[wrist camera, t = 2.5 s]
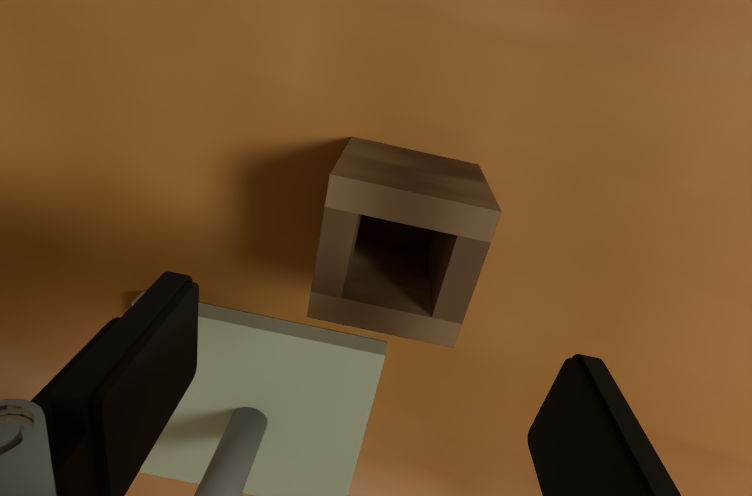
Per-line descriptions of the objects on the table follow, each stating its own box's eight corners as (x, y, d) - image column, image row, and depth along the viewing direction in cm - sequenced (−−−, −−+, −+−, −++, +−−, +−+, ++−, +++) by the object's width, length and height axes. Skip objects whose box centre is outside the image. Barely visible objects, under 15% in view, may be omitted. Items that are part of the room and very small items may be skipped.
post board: (386, 342, 25) (376, 468, 18) (345, 496, 32) (324, 637, 24) (143, 290, 25) (32, 397, 18) (149, 457, 31) (69, 587, 24)
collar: (478, 164, 21) (501, 211, 15) (444, 274, 23) (453, 347, 18) (351, 136, 21) (329, 174, 15) (331, 250, 23) (306, 317, 18)
